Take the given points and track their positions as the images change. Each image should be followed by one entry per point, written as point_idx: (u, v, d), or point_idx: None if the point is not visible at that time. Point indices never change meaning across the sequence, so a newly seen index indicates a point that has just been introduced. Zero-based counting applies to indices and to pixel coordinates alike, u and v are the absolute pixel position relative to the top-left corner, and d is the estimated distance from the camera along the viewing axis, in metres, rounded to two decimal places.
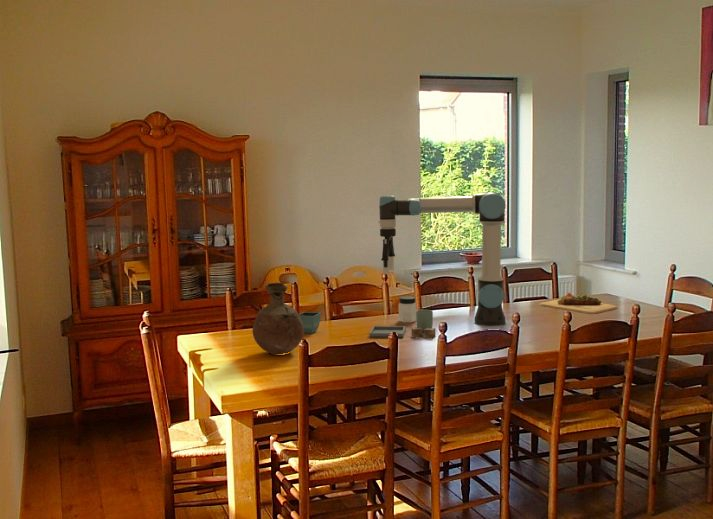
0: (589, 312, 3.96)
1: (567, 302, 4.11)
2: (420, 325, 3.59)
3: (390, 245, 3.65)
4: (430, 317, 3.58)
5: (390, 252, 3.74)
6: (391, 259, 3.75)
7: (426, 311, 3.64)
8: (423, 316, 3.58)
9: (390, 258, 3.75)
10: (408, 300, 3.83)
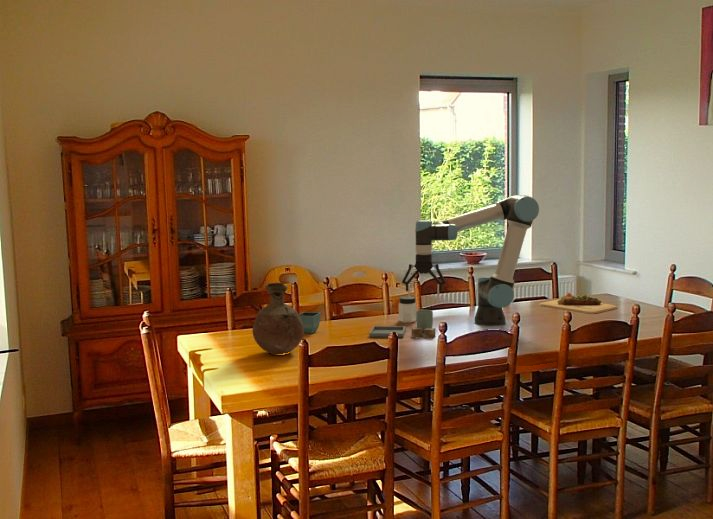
0: (589, 312, 3.96)
1: (567, 302, 4.11)
2: (420, 325, 3.59)
3: (416, 271, 3.58)
4: (430, 317, 3.58)
5: None
6: (437, 287, 3.59)
7: (426, 311, 3.64)
8: (423, 316, 3.58)
9: None
10: (408, 300, 3.83)
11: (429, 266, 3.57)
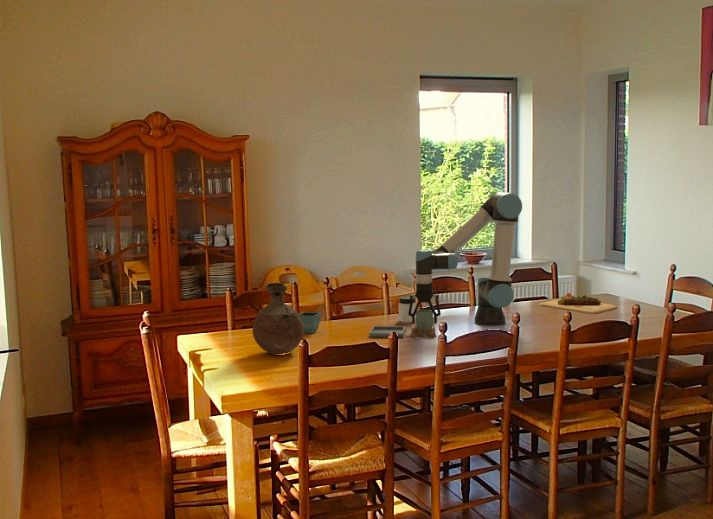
0: (590, 312, 3.96)
1: (567, 302, 4.11)
2: (420, 325, 3.59)
3: (418, 301, 3.60)
4: (430, 317, 3.58)
5: (432, 310, 3.61)
6: None
7: (426, 311, 3.64)
8: (423, 316, 3.58)
9: None
10: (408, 300, 3.83)
11: (429, 295, 3.59)
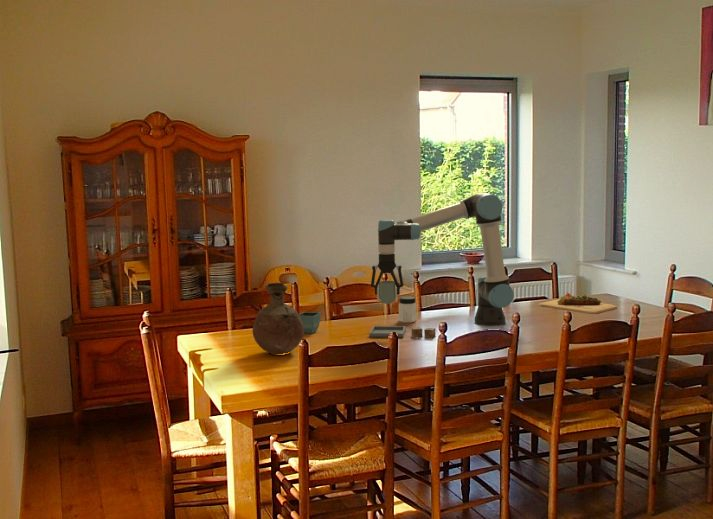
0: (590, 312, 3.96)
1: (567, 302, 4.11)
2: (382, 296, 3.55)
3: None
4: (392, 288, 3.54)
5: (394, 281, 3.57)
6: (395, 290, 3.57)
7: (389, 282, 3.60)
8: (385, 286, 3.54)
9: None
10: (408, 300, 3.83)
11: (392, 265, 3.55)
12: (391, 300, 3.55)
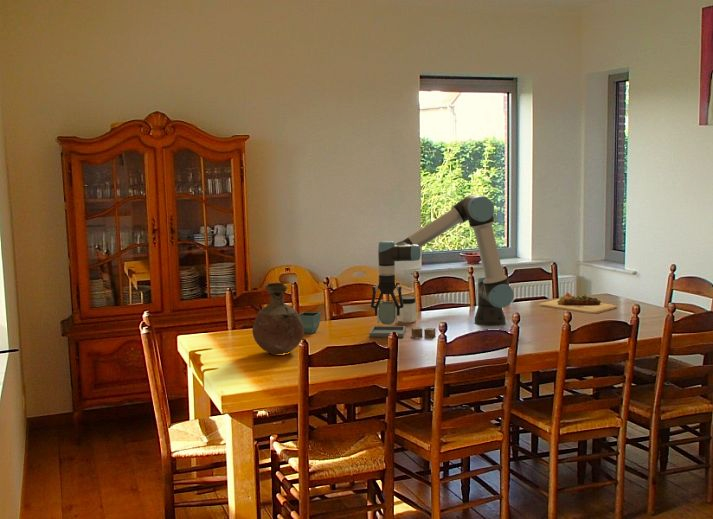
0: (591, 312, 3.96)
1: (567, 302, 4.11)
2: (382, 317, 3.56)
3: None
4: (392, 309, 3.55)
5: (394, 302, 3.58)
6: (395, 311, 3.58)
7: (389, 303, 3.61)
8: (385, 307, 3.55)
9: None
10: (408, 300, 3.83)
11: (392, 287, 3.56)
12: (391, 321, 3.56)
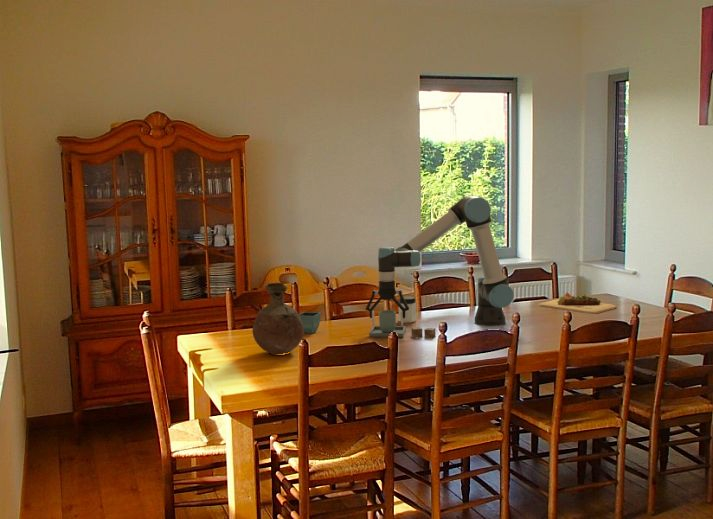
0: (591, 312, 3.96)
1: (567, 302, 4.11)
2: (383, 326, 3.57)
3: None
4: (392, 318, 3.56)
5: None
6: (401, 314, 3.58)
7: (389, 312, 3.62)
8: (385, 316, 3.55)
9: (401, 312, 3.58)
10: (408, 300, 3.83)
11: (392, 293, 3.56)
12: (391, 330, 3.57)
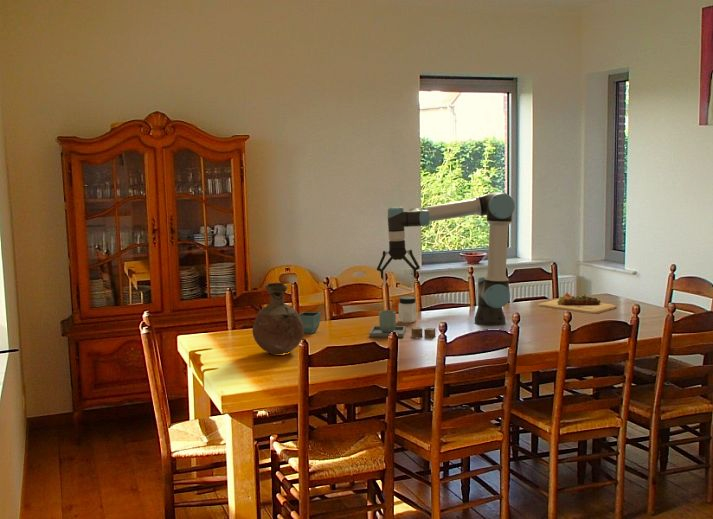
0: (592, 312, 3.96)
1: (567, 302, 4.11)
2: (383, 326, 3.57)
3: (390, 257, 3.60)
4: (392, 318, 3.56)
5: (409, 265, 3.61)
6: (412, 273, 3.61)
7: (389, 312, 3.62)
8: (385, 316, 3.55)
9: (412, 272, 3.62)
10: (408, 300, 3.83)
11: (403, 252, 3.60)
12: (391, 330, 3.57)
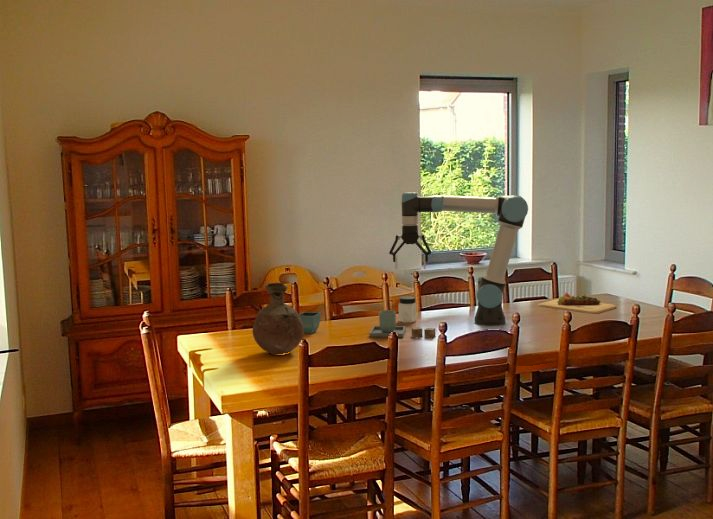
0: (592, 312, 3.96)
1: (567, 302, 4.11)
2: (383, 326, 3.57)
3: (403, 241, 3.67)
4: (392, 318, 3.56)
5: None
6: None
7: (389, 312, 3.62)
8: (385, 316, 3.55)
9: None
10: (408, 300, 3.83)
11: (415, 237, 3.67)
12: (391, 330, 3.57)
